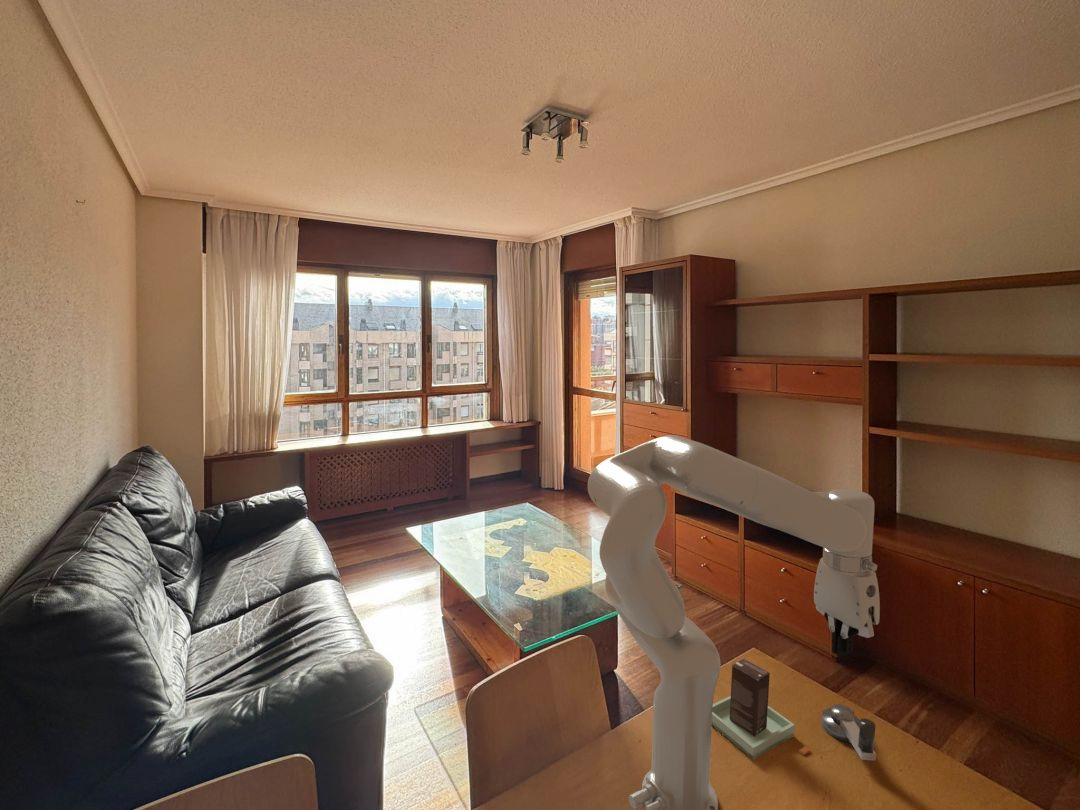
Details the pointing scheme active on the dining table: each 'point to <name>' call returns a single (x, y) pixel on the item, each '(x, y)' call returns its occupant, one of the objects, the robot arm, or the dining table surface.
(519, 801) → the dining table surface
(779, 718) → the tray
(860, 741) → the crank
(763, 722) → the box
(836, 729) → the crank base
